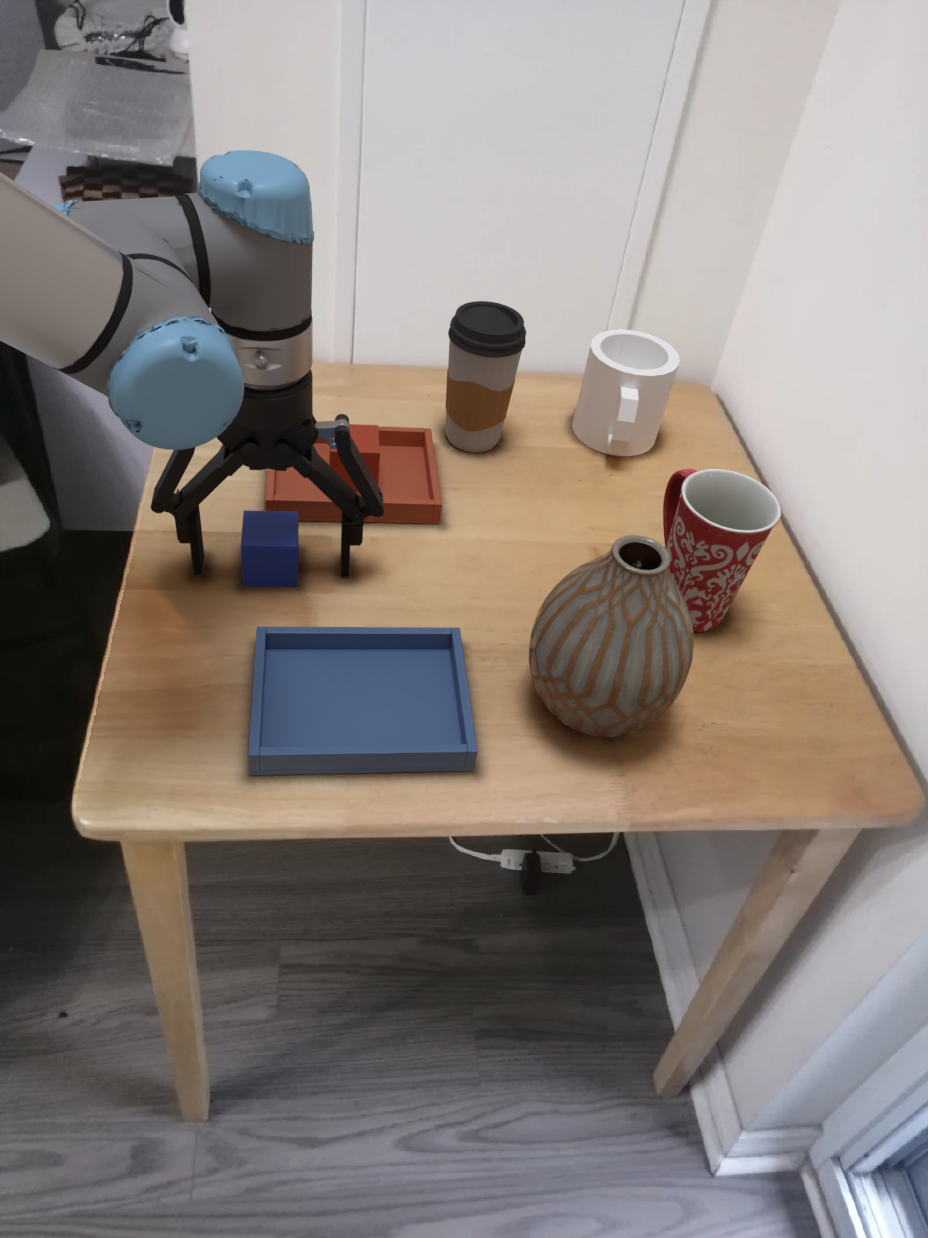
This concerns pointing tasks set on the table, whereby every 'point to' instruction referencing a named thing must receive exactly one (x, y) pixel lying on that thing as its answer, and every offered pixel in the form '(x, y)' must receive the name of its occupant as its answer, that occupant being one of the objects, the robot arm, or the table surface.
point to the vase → (613, 641)
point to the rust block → (368, 448)
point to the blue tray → (360, 701)
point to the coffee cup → (481, 372)
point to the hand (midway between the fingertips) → (272, 567)
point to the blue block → (270, 548)
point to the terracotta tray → (401, 481)
